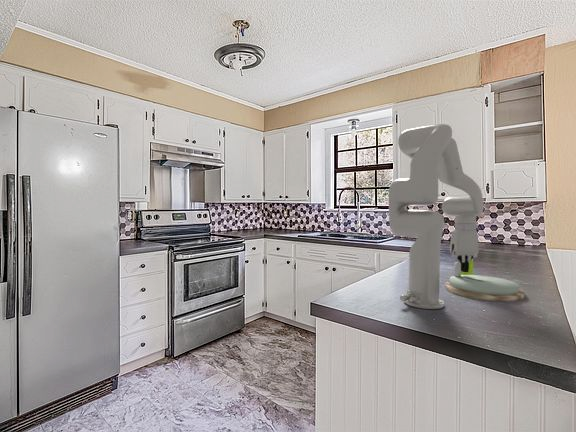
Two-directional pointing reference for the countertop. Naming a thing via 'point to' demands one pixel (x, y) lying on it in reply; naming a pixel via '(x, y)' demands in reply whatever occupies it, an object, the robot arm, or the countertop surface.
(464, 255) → the soap dispenser
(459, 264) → the dial
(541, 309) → the countertop surface
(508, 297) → the base
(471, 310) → the countertop surface
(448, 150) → the robot arm
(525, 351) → the countertop surface
